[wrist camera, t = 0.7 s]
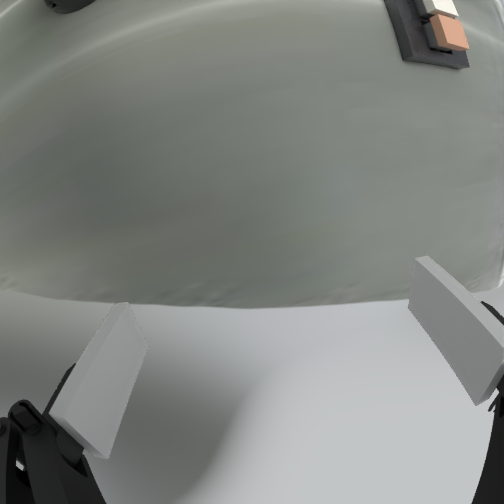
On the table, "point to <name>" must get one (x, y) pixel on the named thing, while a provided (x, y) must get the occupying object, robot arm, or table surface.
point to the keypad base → (419, 37)
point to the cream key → (435, 8)
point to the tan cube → (445, 34)
